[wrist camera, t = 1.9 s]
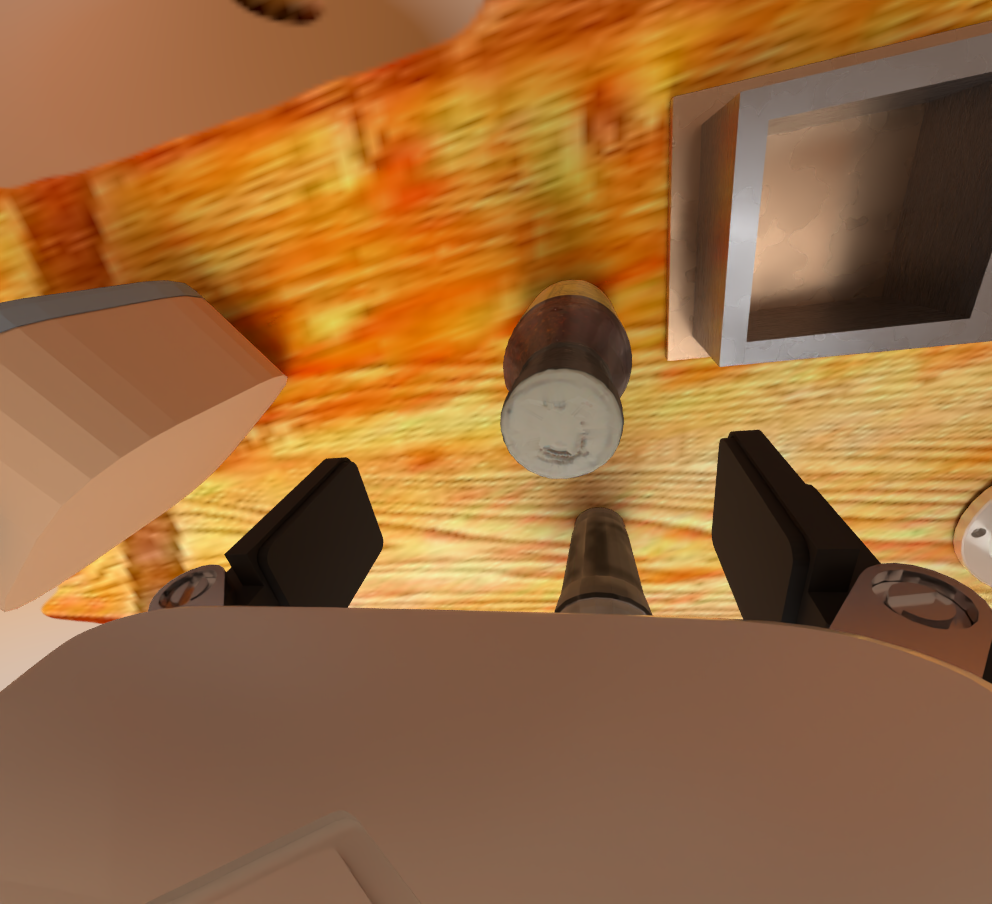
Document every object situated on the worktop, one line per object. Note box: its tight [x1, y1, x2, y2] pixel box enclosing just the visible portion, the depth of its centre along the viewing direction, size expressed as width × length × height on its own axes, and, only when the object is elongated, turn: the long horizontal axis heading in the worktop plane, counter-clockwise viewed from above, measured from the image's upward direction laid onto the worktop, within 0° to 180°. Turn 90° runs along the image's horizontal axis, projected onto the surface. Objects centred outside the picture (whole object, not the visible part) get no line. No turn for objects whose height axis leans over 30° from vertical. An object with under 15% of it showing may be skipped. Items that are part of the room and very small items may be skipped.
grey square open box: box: [666, 20, 992, 367], centre depth 22 cm, size 15×15×8 cm
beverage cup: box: [554, 508, 653, 616], centre depth 31 cm, size 7×7×20 cm
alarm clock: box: [0, 281, 287, 612], centre depth 31 cm, size 21×10×22 cm, turn 133°
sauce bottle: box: [500, 280, 632, 479], centre depth 23 cm, size 6×6×20 cm
